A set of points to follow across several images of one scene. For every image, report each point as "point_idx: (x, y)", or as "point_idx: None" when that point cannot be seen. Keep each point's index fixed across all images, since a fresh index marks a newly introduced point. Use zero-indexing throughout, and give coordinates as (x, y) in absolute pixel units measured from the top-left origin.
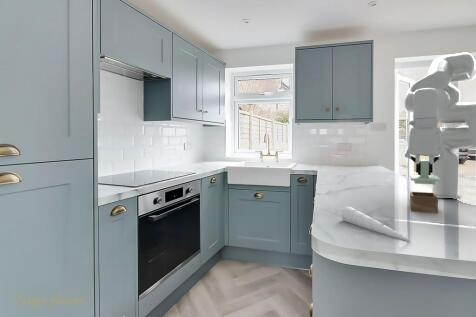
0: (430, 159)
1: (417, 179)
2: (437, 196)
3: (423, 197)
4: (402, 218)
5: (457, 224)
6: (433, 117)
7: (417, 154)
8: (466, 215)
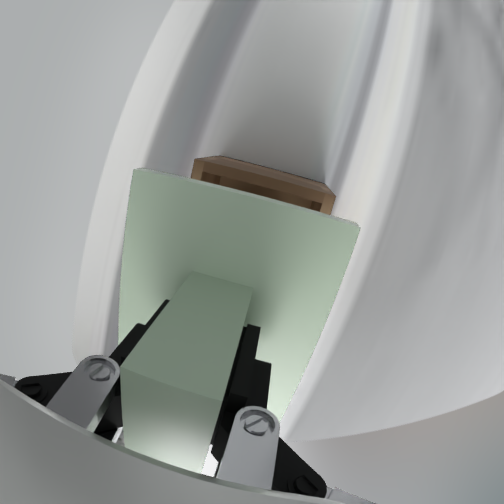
0: (94, 402)
1: (309, 209)
2: None
3: (270, 176)
4: (394, 62)
5: (211, 6)
6: None
7: (266, 496)
8: (114, 178)
